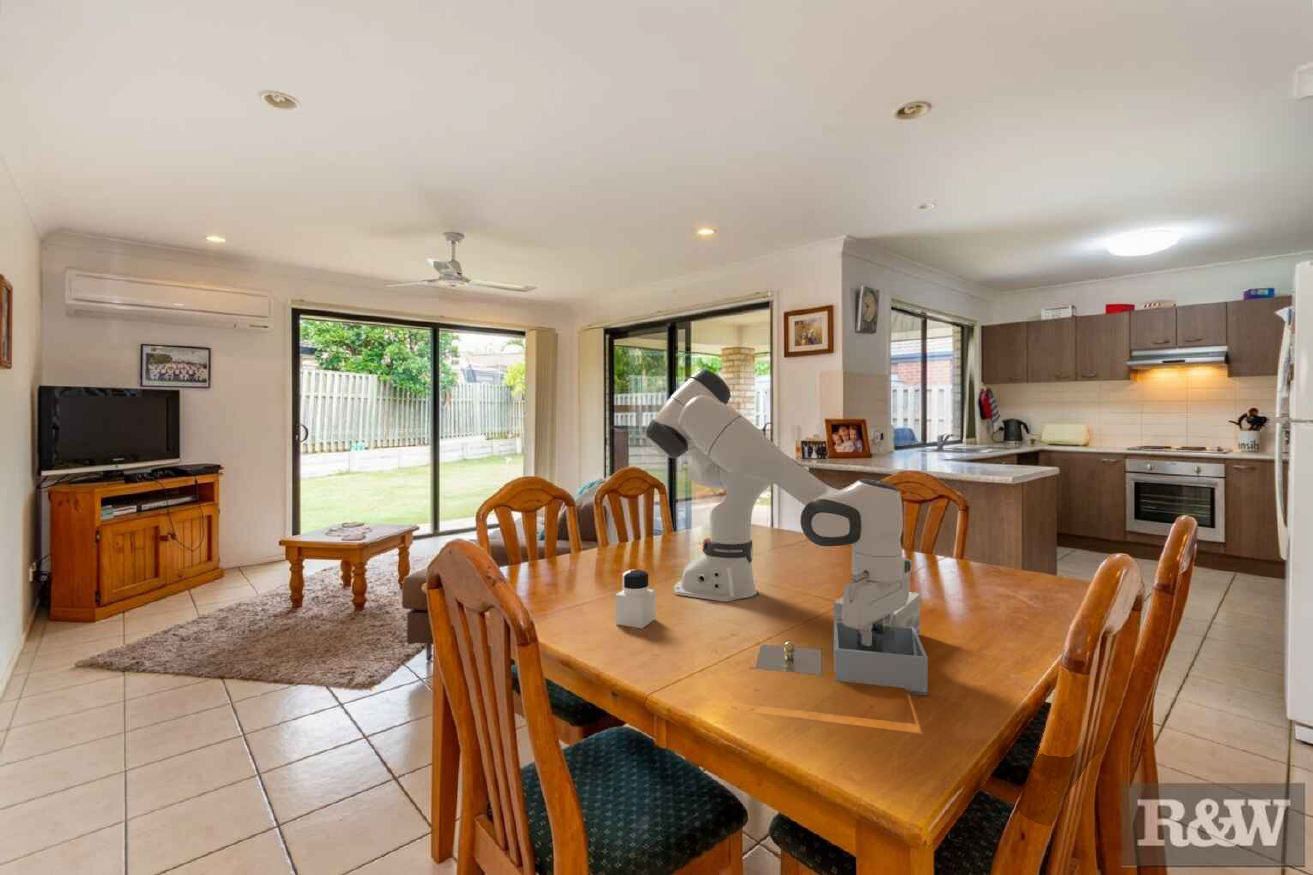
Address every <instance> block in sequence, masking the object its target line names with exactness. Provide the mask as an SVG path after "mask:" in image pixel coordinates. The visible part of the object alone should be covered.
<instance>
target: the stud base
mask: <svg viewBox="0 0 1313 875" xmlns="http://www.w3.org/2000/svg"><path fill="white" fill-rule="evenodd" d="M755 663H756V664H755V668H754V669H758V670H765V671H767V670H768V671H776V672H787V673H796V674H806V675H814V676H822V649H817V648H816V649H814V648H804V647H803V648H802V647H796V645H795V643H794V642H793V641H791V640H787V641H786V642H784V644H783V645H772V644H764V643H763V644H760V648H759V651H758V656H757V659H756V662H755Z"/></svg>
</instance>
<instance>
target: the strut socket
mask: <svg viewBox="0 0 1313 875" xmlns="http://www.w3.org/2000/svg"><path fill="white" fill-rule="evenodd" d="M871 632H872V635H874V644H872V645H871V646H866V645H863V644H862V642H861V641H862V635H861V633H860V631H859V630H858V629H857V650H860V651H870V652H881V653H892V654H895V629H894V628H890V627H886V626H883V618H882V619H880V620H878V621H876V622H874V623H872V628H871Z"/></svg>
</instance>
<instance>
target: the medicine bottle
mask: <svg viewBox="0 0 1313 875" xmlns="http://www.w3.org/2000/svg"><path fill="white" fill-rule="evenodd" d="M614 597H615V600H614V601H615V604H614V605H615V607H614V609H615V612H614V613H615V625H618V626H624V627H629V628H635V629H644V628H646V627H647V626H648V625H649V624H650V623H652V622H653V621H655V620H656V590H655V589H650V588H649V573H648V572H647V571H645V570H642V569H629V570H626V571H625V572H623V573H622V590H621V591H619V592H617V593H616V594H615V595H614Z"/></svg>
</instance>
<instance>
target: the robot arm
mask: <svg viewBox="0 0 1313 875" xmlns="http://www.w3.org/2000/svg"><path fill="white" fill-rule="evenodd" d="M731 395H732V394H731V389H730V388H729V386H728V384H727V383H726V381H725V380H724V379H723V378H722V376H720V375H719V374H718V373H716V372H714V371H711V370H709V369H706V368H705V369H704V368H702V369H698V370H696V371H694V372H693V373H692V374H691V375H690V376H689V377H688V380H686V381H685V382H683V384H681V386H679V387H678V388H677V389H676V390H675V391H674V393H672V394H671V395H670V397H669V398H668V399H667V400H666V401H665V402H664V404H663V405H662V407H661V408H660V410H659V412H657V414H656V415H655V417H654V418H653V419H651V420H650V422H649V424H648V425H647V427H646V430H645V435H646V438H647V439H648V442H649V444H650V445H651V447H652V448H653V449H654V450H655V451H656V452H657V453H658V454H660V455H663V456H664V457H668V458H670V459H677V458H679V457H681V456H683V455H684V454H687V456H688V457H689V459H688V461H687V469H686V470H687V474H688V477H689V479H690V481H691V482H692V483H694V484H697V485H699V486H702V487H705V488H709V489H718V490H720V489H721V490H726V492H725V493H726V494H725V498H724V499H723V501H722V502H721V503H718V504H717V505H715V506H714V507H713V508H712V509H711V512H710V514H709V537H705V539H704V540H703V542H702V548H701V549H702V553H701V554H699V555H698V556H697V557H695V558H694V559H693V560H692V561H689V563H688V564H687V565H686V566H685V567H684V569H683V573H682V577H681V579H680V580H679V581H677V582H676V583H675V584H674V586H673V594H675V595H678V596H680V597H681V596H682V597H683V596H684V597H689V598H697V599H703V600H704V599H705V600H709V601H710V600H712V601H719V602H725V603H726V602H731V601H734V600H743V599H746V598H751V597H753V596H755V595H757V593H758V590H757V588H756V583H755V579H754V573H753V565H752V564H753V563H752V562H753V557H754V545H753V540H752V538H751V537H752V536H751V534H752V516H753V511H754V506H755V504H756V503H757V501H758V498H759V497H760V496H761V494H763V492H764V491H766V490H767V489H769V488H770V486H771V485H772V484H775V485H776V486H778V487H779V488H781V489H782V490H783V491H784V492H786V493H787V494H788V495H790V496H792V497H793V498H794V499H795V500H797V501H798V502H799V503H801V504H802V505H803V506H805V507H804V508H803V509H802V512H801V515H800V522H799V523H800V528H801V530H802V532H803V534H804V536H805V537H806V538H807V540H809V541H810V542H811V543H813V544H814V545H816V546H817V545H818V546H821V547H828V548H829V547H830V548H831V547H838V546H841V547H842V546H848V545H850V546H851V575H852V577H851V580H850V582H849V583H846V585H845V587H844V590H843V596H842V597H843V605H842V622H843V624H844V625H845V626H847V627H850V628H854V629H858V630H859V631H860V633H861V635H862V641H861V642H862V644H863V645H866V646H871V645H872V644H874V635H872V632H871V628H872V623H874V622H876V621H878V620H880V619H882V618H883V626H886V627H890V625H891V622H892V619H893V612H895V611H896V610H898V609H900V608H902V607H904V606H905V605H906V604H907V601H908V597H909V592H910V586H911V585H910V581H911V580H910V578H911V577H910V572H911V571H912V570H913V561H912V560H911V559H909V558H905V557H903V553H904V552H903V547H902V543H901V537H902V534H903V530H904V511H903V510H904V509H903V501H902V497H901V493H900V491H899V489H898V488H897V487H896V486H895V485H893V484H891V483H889V482H886V481H882V480H879V479H873V478H859V479H858V480H856V481H855V482H854V483H852V484H849V486H846V487H844V488H843V487H838V486H835V485H831V484H829V483H827V482H825V481H824V480H822V479H820V478H819V477H817V476H816V475H815V474H814V473H812V472H811V471H809V470H808V469H806V468H805V467H804V466H802V465H801V464H800V463H798V462H797V461H795V460H794V459H792V458H791V457H790V456H789V455H787V454H786V453H785V452H784V451H782V450H781V448H779V447H778V445H775V443H774V442H772V440H770V439H769V438H768V437H767V436H766V435H765V434H764V433H763V432H762V431H761V430H760V429H759V428H758V427H757V426H755V425H754V423H752V422H751V421H750V420H748V419H747V418H746V417H745V416H743V415H742V414H741V413H739V411H736V410H735V409H734V408H732V407H730V406H729V405H728V403H729V401H730V399H731Z"/></svg>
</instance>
